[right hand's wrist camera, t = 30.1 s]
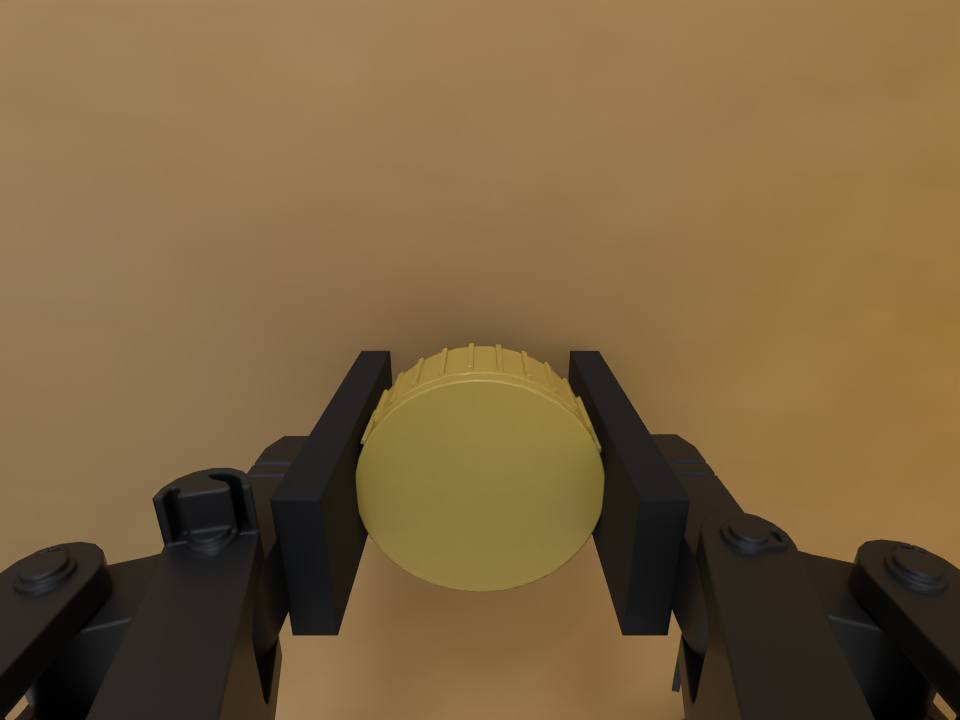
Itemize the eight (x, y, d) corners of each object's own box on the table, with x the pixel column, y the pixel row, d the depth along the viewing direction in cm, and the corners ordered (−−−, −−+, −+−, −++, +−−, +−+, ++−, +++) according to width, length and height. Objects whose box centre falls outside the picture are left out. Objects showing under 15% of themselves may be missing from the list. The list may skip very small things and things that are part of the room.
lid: (601, 518, 13) (620, 576, 11) (399, 549, 13) (386, 610, 11) (576, 322, 11) (595, 354, 9) (343, 363, 11) (318, 401, 9)
